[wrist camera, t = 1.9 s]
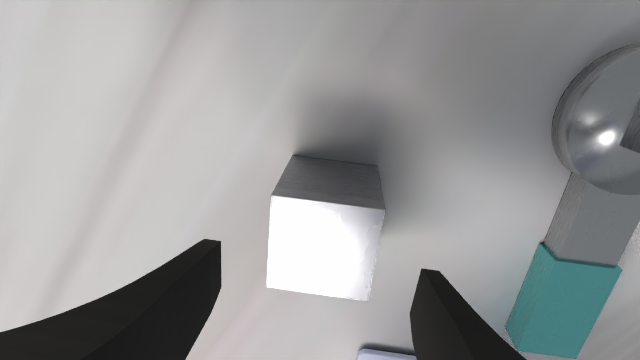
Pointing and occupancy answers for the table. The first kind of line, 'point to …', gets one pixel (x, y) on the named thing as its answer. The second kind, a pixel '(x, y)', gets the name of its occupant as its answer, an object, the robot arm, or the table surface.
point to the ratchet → (585, 208)
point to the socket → (325, 228)
